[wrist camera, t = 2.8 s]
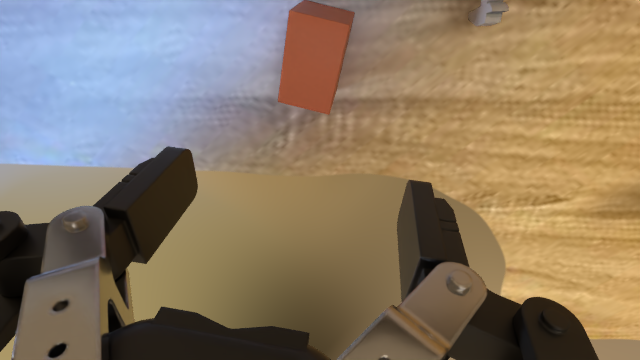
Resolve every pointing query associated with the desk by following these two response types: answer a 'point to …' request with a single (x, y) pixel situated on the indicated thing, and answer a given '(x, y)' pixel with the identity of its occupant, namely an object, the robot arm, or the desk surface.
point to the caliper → (488, 13)
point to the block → (314, 55)
